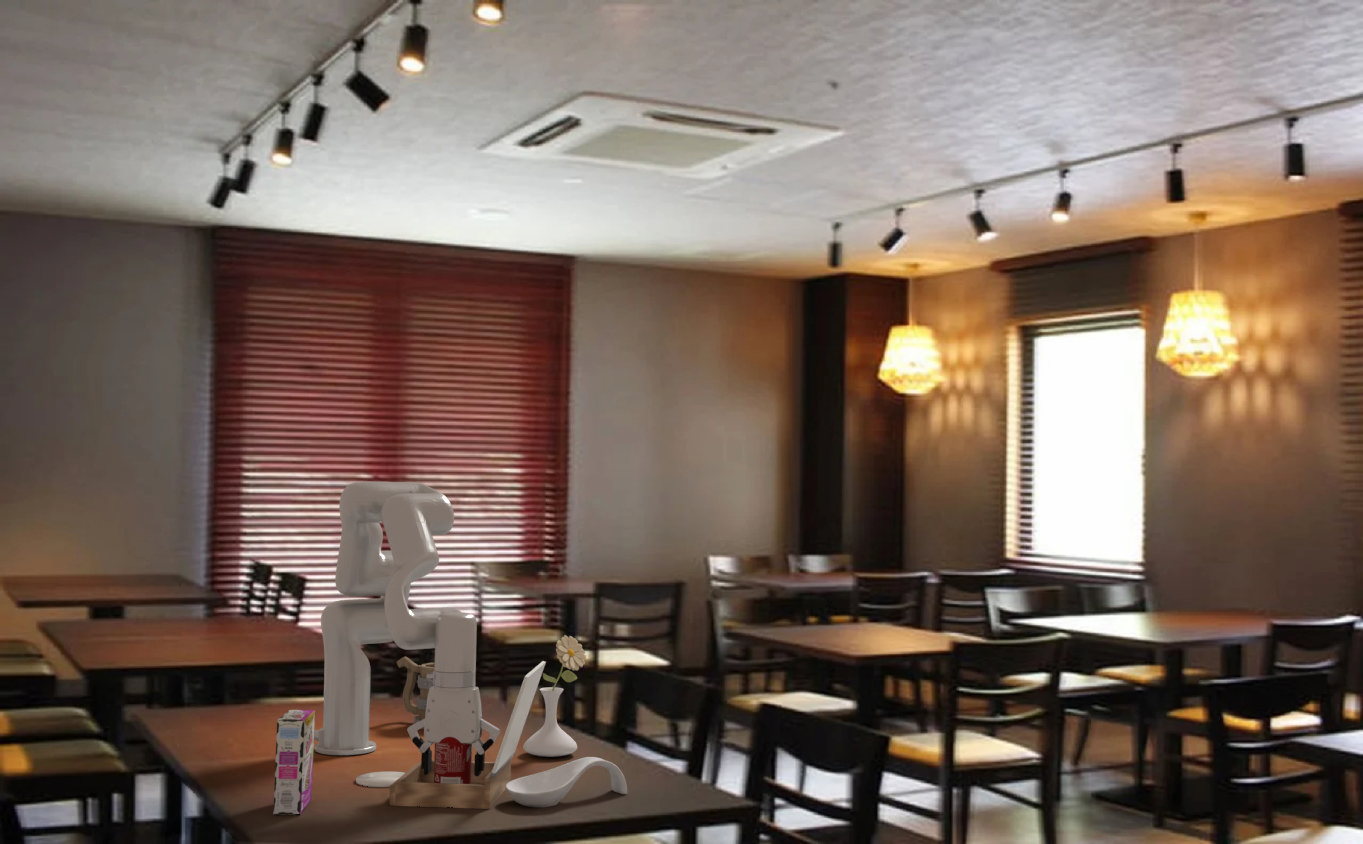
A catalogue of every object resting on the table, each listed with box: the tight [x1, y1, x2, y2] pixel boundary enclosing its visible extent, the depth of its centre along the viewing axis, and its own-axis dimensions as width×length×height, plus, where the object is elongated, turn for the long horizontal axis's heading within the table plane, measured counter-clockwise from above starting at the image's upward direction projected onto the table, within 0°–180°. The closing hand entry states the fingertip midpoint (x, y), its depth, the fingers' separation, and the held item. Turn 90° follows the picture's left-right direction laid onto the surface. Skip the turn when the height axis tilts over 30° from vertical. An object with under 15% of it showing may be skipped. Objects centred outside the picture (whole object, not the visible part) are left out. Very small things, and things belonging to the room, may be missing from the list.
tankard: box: [396, 656, 435, 730], centre depth 330 cm, size 20×13×15 cm, turn 58°
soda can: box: [433, 732, 473, 784], centre depth 260 cm, size 7×7×12 cm
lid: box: [490, 660, 547, 778], centre depth 260 cm, size 19×20×1 cm
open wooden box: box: [389, 758, 512, 810], centre depth 260 cm, size 18×20×5 cm
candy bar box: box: [272, 709, 316, 815], centre depth 248 cm, size 11×5×16 cm, turn 5°
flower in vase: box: [522, 634, 587, 758], centre depth 297 cm, size 13×11×25 cm
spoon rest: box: [505, 756, 628, 808], centre depth 258 cm, size 24×12×7 cm, turn 125°
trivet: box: [355, 771, 406, 788], centre depth 270 cm, size 11×11×1 cm
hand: (452, 774), depth 260 cm, fingers open, 9 cm apart
